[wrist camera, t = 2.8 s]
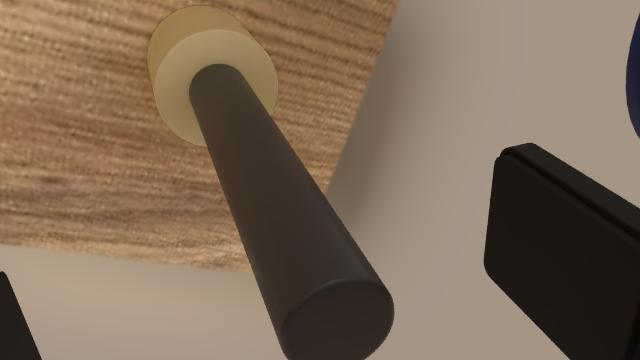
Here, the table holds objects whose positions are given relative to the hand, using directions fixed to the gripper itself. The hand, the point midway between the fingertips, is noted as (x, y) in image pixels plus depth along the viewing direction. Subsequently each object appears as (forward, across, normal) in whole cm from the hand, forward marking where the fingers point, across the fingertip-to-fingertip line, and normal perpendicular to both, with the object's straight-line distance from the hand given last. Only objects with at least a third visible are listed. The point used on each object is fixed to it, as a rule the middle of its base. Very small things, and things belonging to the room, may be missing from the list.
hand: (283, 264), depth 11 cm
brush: (+14, -1, 0) cm, 14 cm away
